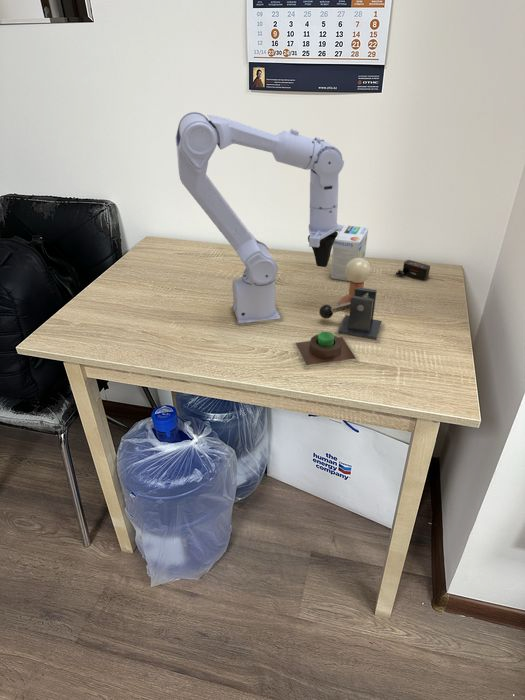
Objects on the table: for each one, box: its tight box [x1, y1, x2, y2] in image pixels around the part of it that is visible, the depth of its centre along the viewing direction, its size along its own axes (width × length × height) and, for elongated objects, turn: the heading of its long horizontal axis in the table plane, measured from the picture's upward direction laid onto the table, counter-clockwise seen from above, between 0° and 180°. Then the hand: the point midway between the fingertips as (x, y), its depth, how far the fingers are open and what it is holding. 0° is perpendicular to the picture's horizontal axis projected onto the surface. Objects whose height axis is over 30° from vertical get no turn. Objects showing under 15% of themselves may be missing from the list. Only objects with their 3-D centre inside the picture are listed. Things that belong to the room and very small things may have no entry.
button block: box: [295, 333, 357, 366], centre depth 103 cm, size 10×8×3 cm
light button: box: [317, 331, 335, 347], centre depth 102 cm, size 3×3×2 cm
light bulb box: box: [330, 224, 369, 282], centre depth 132 cm, size 11×7×11 cm, turn 159°
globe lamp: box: [340, 258, 372, 312], centre depth 116 cm, size 6×6×12 cm
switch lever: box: [318, 293, 370, 320], centre depth 109 cm, size 11×3×3 cm, turn 71°
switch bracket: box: [337, 287, 383, 341], centre depth 109 cm, size 8×7×9 cm
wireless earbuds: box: [395, 259, 431, 281], centre depth 132 cm, size 5×7×3 cm, turn 50°
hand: (322, 265), depth 114 cm, fingers closed
